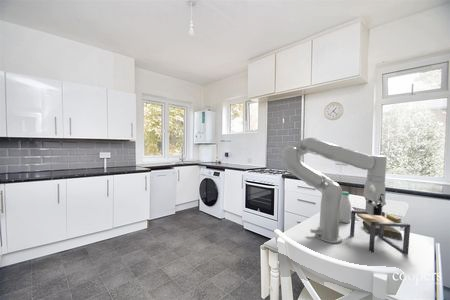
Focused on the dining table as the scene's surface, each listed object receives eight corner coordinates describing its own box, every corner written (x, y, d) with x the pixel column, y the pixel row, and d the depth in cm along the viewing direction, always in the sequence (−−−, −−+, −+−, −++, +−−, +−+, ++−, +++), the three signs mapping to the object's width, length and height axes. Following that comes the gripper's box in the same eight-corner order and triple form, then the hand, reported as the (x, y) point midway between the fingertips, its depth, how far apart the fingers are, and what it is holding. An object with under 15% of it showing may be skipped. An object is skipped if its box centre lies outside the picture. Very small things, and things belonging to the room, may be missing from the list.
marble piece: (402, 240, 110) (403, 233, 110) (372, 236, 113) (373, 229, 113) (385, 227, 126) (386, 221, 126) (359, 224, 129) (360, 218, 129)
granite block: (371, 215, 101) (372, 205, 101) (365, 211, 106) (366, 202, 106) (381, 215, 101) (382, 206, 101) (374, 212, 106) (375, 203, 106)
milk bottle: (351, 224, 129) (353, 194, 128) (337, 222, 132) (339, 192, 131) (348, 219, 136) (350, 191, 135) (336, 218, 139) (337, 190, 138)
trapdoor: (372, 225, 97) (373, 219, 97) (356, 215, 110) (357, 210, 110) (406, 227, 97) (406, 221, 97) (386, 217, 110) (386, 212, 110)
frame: (370, 252, 96) (372, 223, 95) (350, 235, 113) (351, 210, 113) (408, 254, 95) (410, 224, 94) (381, 236, 112) (383, 211, 112)
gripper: (358, 175, 111) (355, 207, 112) (380, 181, 94) (377, 219, 95) (371, 176, 111) (369, 208, 112) (396, 182, 94) (393, 220, 95)
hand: (373, 212), depth 104 cm, fingers closed on granite block, 5 cm apart
